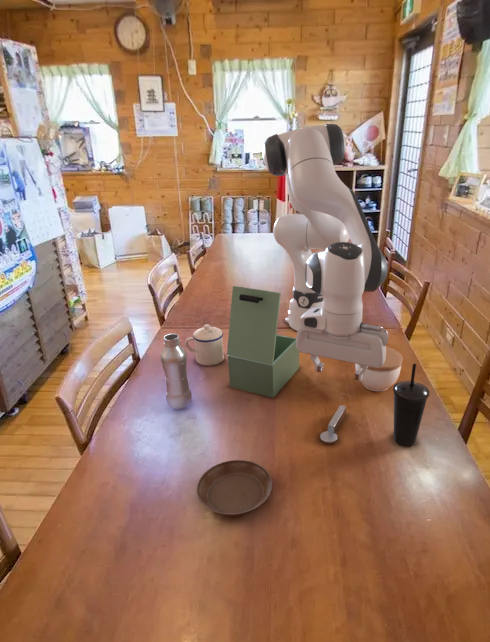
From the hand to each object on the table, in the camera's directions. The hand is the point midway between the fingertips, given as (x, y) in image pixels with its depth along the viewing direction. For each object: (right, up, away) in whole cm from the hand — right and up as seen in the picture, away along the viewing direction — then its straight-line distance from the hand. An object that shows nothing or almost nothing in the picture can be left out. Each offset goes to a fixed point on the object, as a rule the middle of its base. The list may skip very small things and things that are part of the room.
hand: (338, 375), depth 104 cm
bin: (-17, -3, +27) cm, 32 cm away
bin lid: (-20, +12, +14) cm, 27 cm away
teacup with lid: (-36, +1, +38) cm, 52 cm away
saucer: (-22, -23, -14) cm, 35 cm away
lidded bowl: (+14, -5, +23) cm, 27 cm away
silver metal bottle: (-40, -9, +15) cm, 43 cm away
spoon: (0, -13, +5) cm, 14 cm away
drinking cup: (+15, -15, +1) cm, 22 cm away
